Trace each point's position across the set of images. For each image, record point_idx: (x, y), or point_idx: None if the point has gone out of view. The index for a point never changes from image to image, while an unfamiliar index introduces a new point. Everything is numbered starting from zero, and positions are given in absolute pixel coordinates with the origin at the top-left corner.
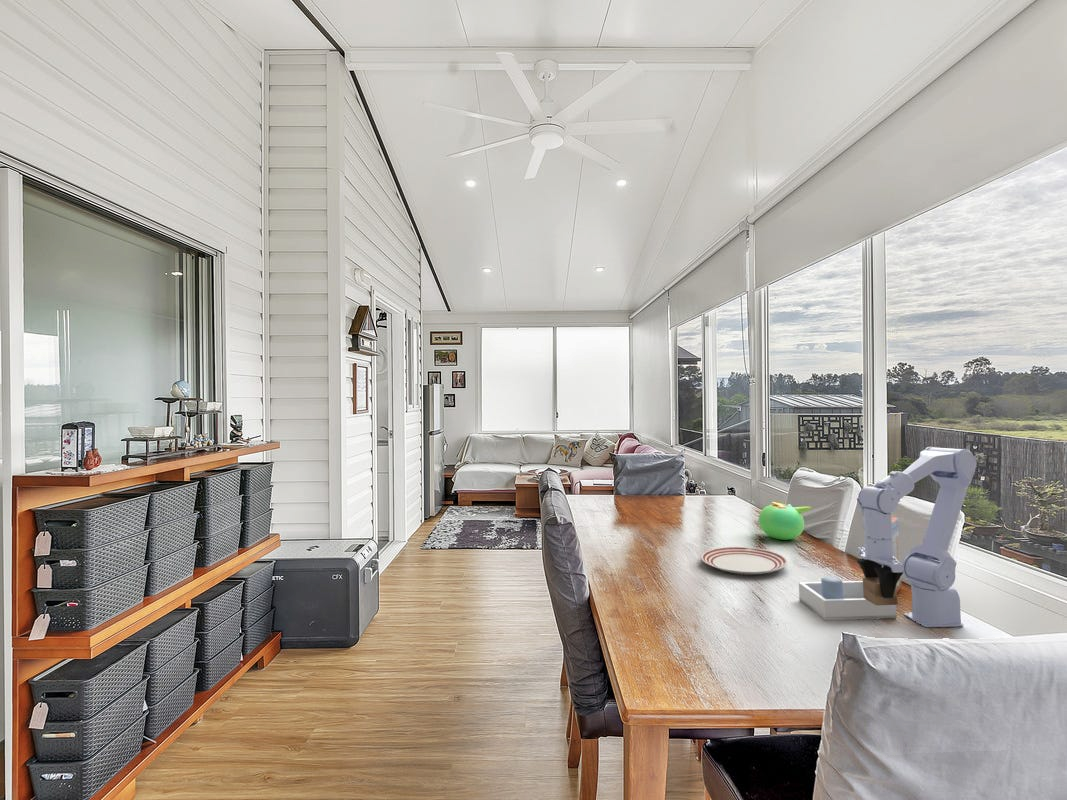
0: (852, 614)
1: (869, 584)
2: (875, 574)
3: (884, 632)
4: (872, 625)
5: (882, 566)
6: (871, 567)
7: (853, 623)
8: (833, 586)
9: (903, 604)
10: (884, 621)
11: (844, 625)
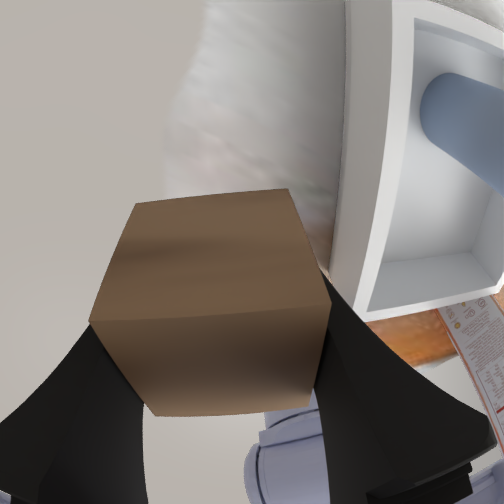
0: (352, 127)
1: (189, 288)
2: (324, 399)
3: (206, 181)
4: (278, 168)
5: (484, 371)
6: (344, 449)
7: (304, 102)
8: (497, 128)
9: (405, 319)
10: (312, 228)
11: (283, 51)
